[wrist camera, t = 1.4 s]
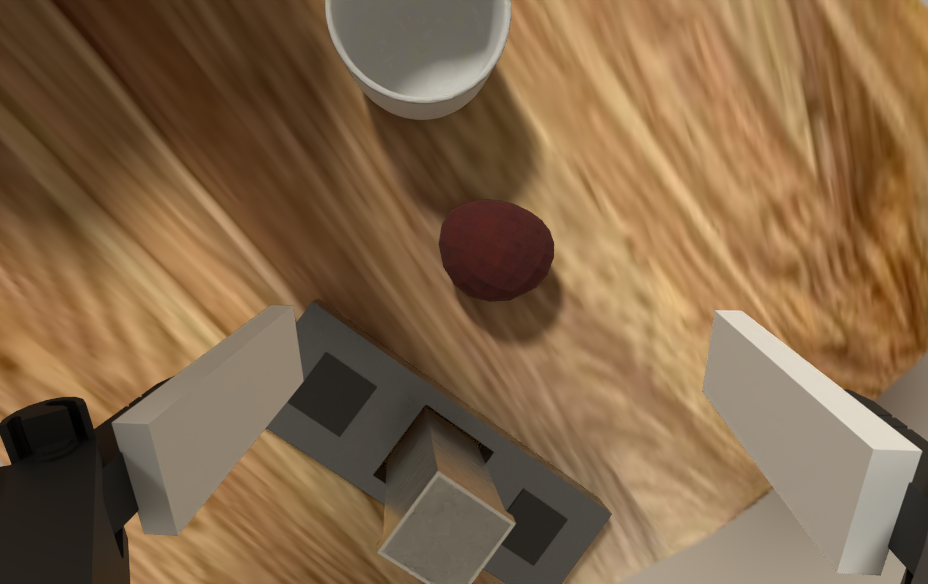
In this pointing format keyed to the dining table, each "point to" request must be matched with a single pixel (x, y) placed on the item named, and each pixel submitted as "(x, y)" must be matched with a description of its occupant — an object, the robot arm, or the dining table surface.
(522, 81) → the dining table surface
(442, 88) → the teacup
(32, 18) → the dining table surface
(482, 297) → the potato
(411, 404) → the grey board with recesses
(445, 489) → the grey rectangular block
